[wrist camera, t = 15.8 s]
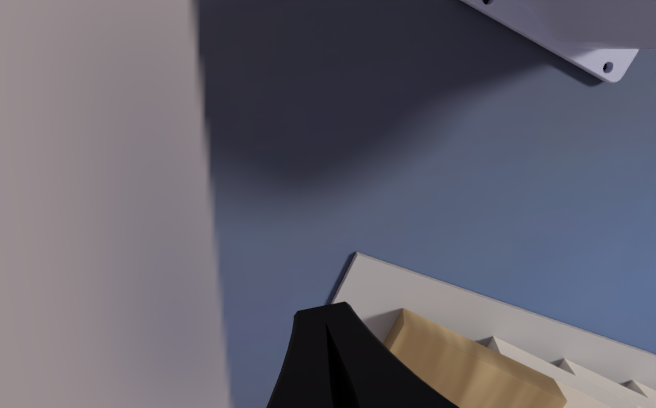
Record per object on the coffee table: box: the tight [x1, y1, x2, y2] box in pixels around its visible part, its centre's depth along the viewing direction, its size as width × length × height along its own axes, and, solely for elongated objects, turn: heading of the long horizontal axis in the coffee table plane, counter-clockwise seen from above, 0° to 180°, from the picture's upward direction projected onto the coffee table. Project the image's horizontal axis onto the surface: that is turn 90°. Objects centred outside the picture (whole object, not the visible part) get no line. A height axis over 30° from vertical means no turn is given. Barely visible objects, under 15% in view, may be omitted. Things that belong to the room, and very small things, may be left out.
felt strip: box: [331, 252, 656, 391], centre depth 27 cm, size 32×9×1 cm, turn 66°
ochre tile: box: [383, 308, 568, 408], centre depth 23 cm, size 2×5×9 cm
